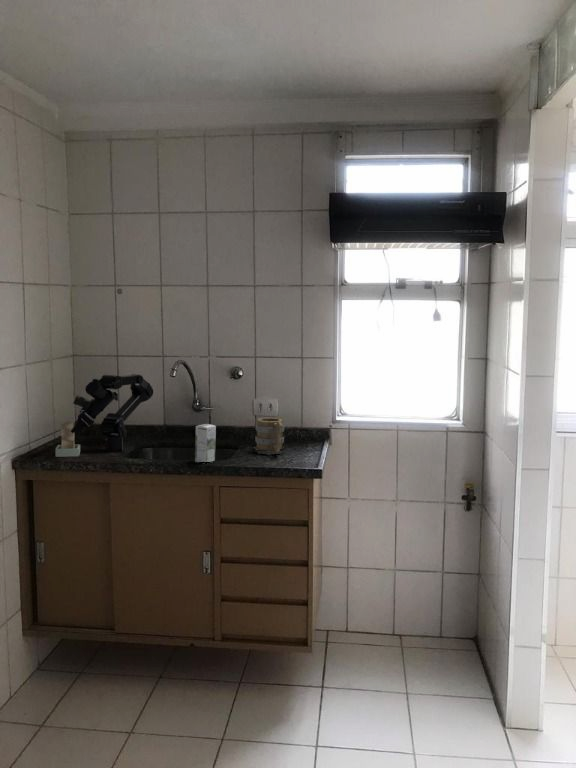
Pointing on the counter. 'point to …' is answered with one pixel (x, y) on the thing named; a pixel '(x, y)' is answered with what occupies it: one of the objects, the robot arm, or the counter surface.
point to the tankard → (269, 434)
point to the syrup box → (205, 443)
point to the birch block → (67, 435)
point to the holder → (67, 451)
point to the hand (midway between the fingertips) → (72, 430)
